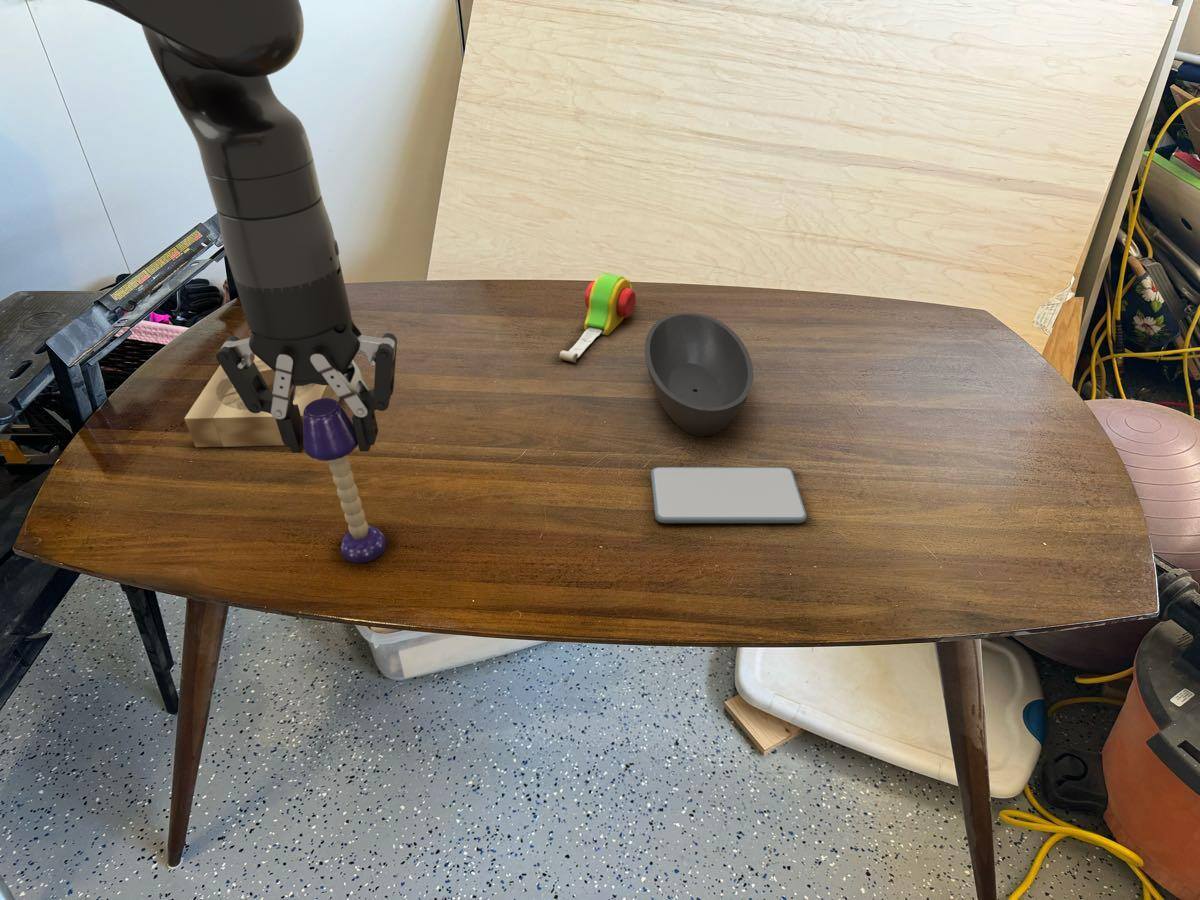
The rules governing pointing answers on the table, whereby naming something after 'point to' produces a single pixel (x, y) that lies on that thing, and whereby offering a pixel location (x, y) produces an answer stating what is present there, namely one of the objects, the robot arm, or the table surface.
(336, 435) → the toy lamp
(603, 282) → the toy measuring tape
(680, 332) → the bowl
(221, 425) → the socket base
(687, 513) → the smartphone
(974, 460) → the table surface
